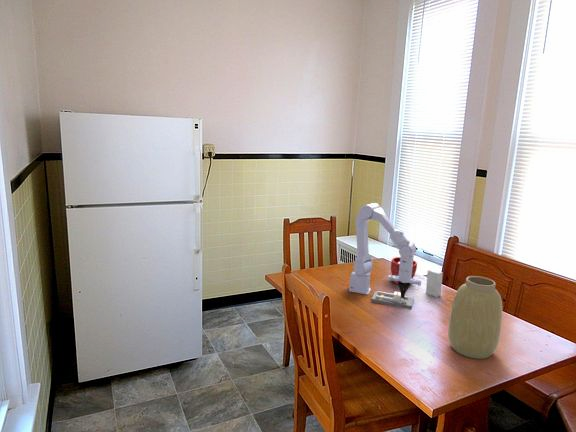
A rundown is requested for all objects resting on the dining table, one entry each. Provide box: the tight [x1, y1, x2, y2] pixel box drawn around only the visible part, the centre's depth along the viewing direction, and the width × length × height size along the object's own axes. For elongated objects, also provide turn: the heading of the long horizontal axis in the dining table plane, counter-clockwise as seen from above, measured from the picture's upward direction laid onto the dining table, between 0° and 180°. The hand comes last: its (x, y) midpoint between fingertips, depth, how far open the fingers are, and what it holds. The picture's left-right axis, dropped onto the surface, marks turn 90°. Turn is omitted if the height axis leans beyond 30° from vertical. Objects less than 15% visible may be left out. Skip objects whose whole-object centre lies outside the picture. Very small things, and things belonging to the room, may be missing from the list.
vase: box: [447, 275, 503, 360], centre depth 149 cm, size 17×17×27 cm
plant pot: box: [390, 256, 418, 285], centre depth 216 cm, size 13×13×12 cm
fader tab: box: [393, 291, 401, 300], centre depth 191 cm, size 3×4×3 cm
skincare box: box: [425, 268, 444, 298], centre depth 201 cm, size 6×4×12 cm
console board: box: [370, 290, 414, 310], centre depth 192 cm, size 18×10×2 cm, turn 68°
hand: (402, 297), depth 190 cm, fingers closed
